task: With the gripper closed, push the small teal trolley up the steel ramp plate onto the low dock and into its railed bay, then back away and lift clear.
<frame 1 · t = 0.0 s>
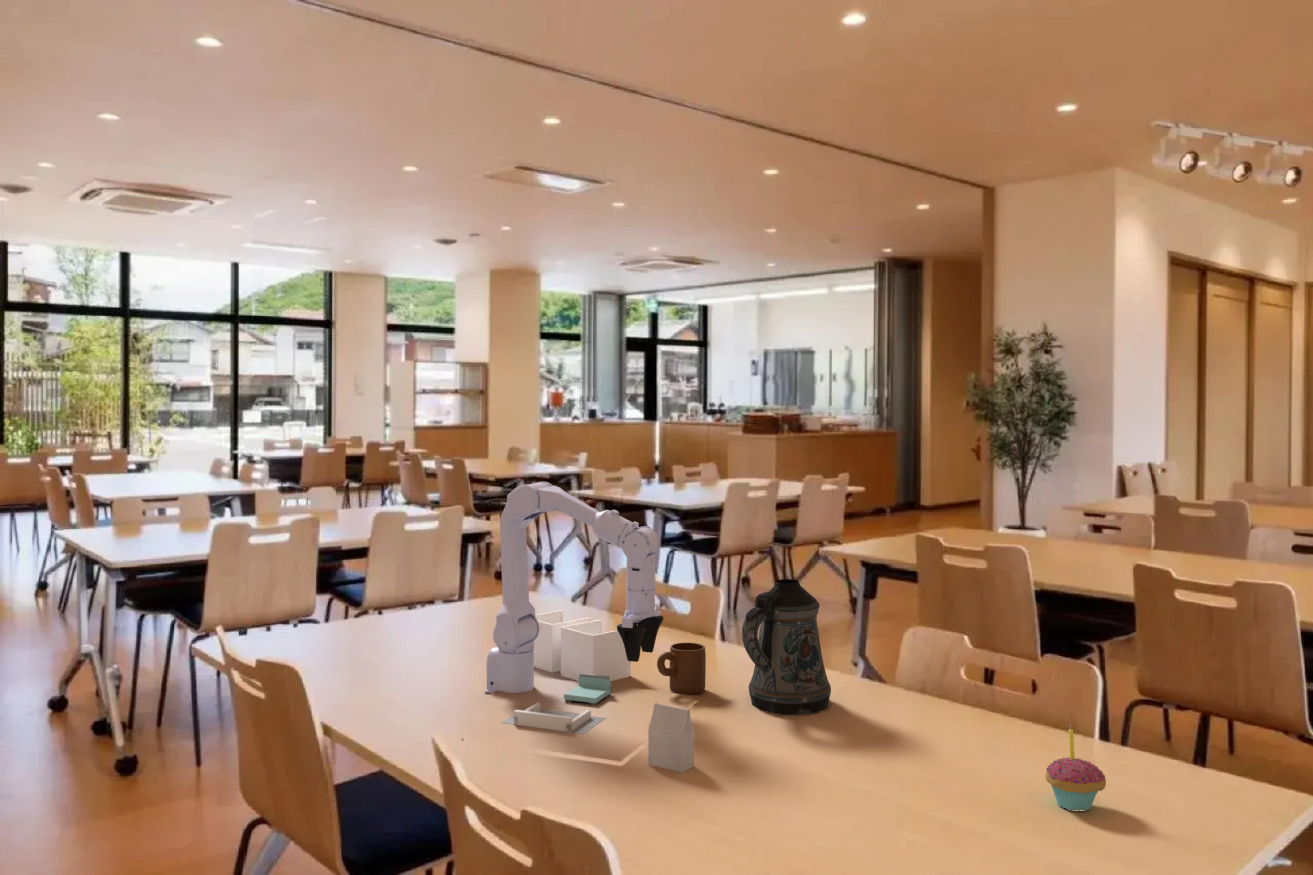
hand: (640, 656, 204), 10 cm above the table, tool pointing down, fingers open, 7 cm apart
beer stein: (787, 706, 205), on the table
ramp plate: (571, 710, 200), on the table, hinge at -6.9°
trolley: (588, 701, 207), on the table
mug: (679, 693, 214), on the table
dock: (553, 723, 193), on the table
cupcake: (1074, 807, 155), on the table
storage container: (575, 671, 231), on the table
light grey paper bag: (671, 766, 172), on the table
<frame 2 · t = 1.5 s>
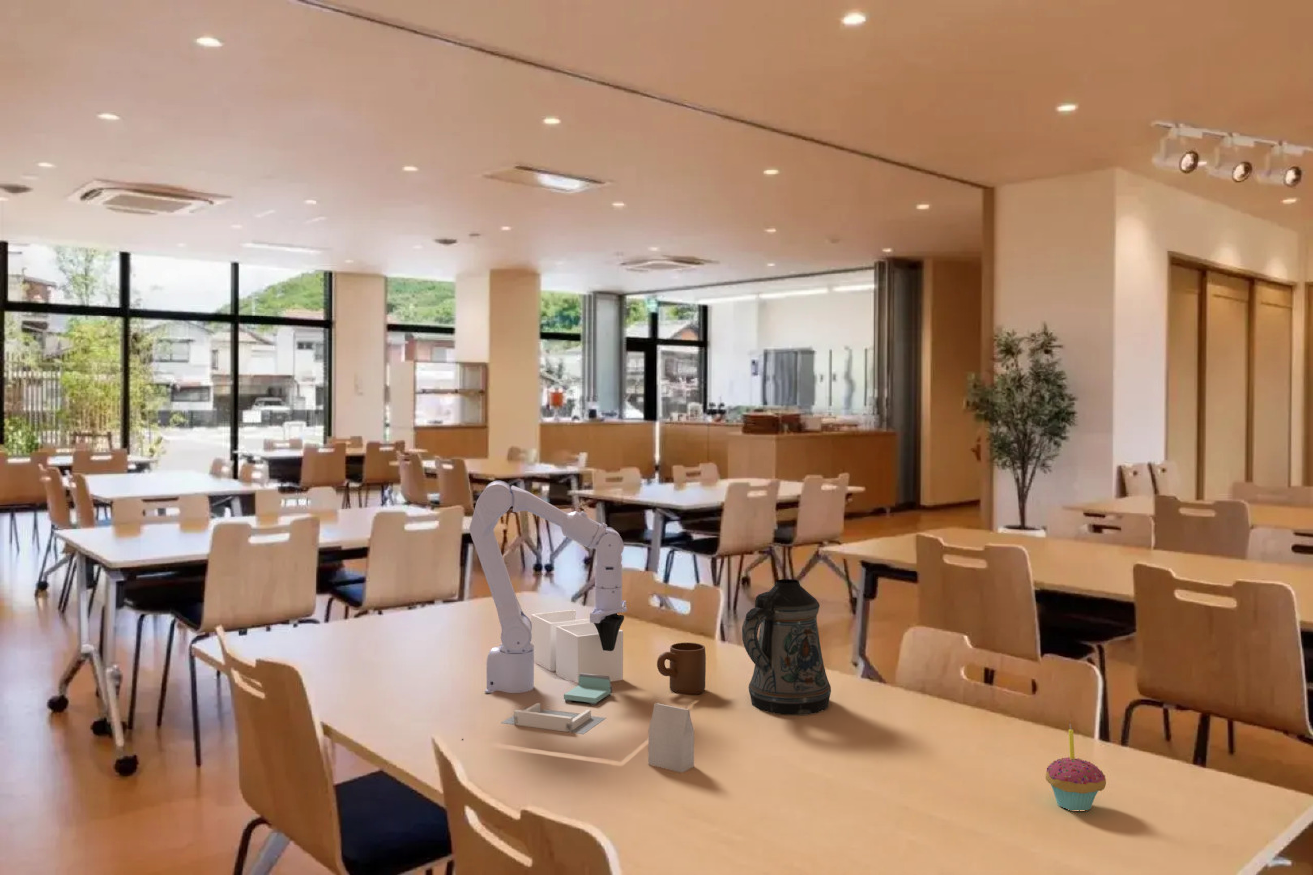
hand: (608, 650, 216), 8 cm above the table, tool pointing down, fingers closed
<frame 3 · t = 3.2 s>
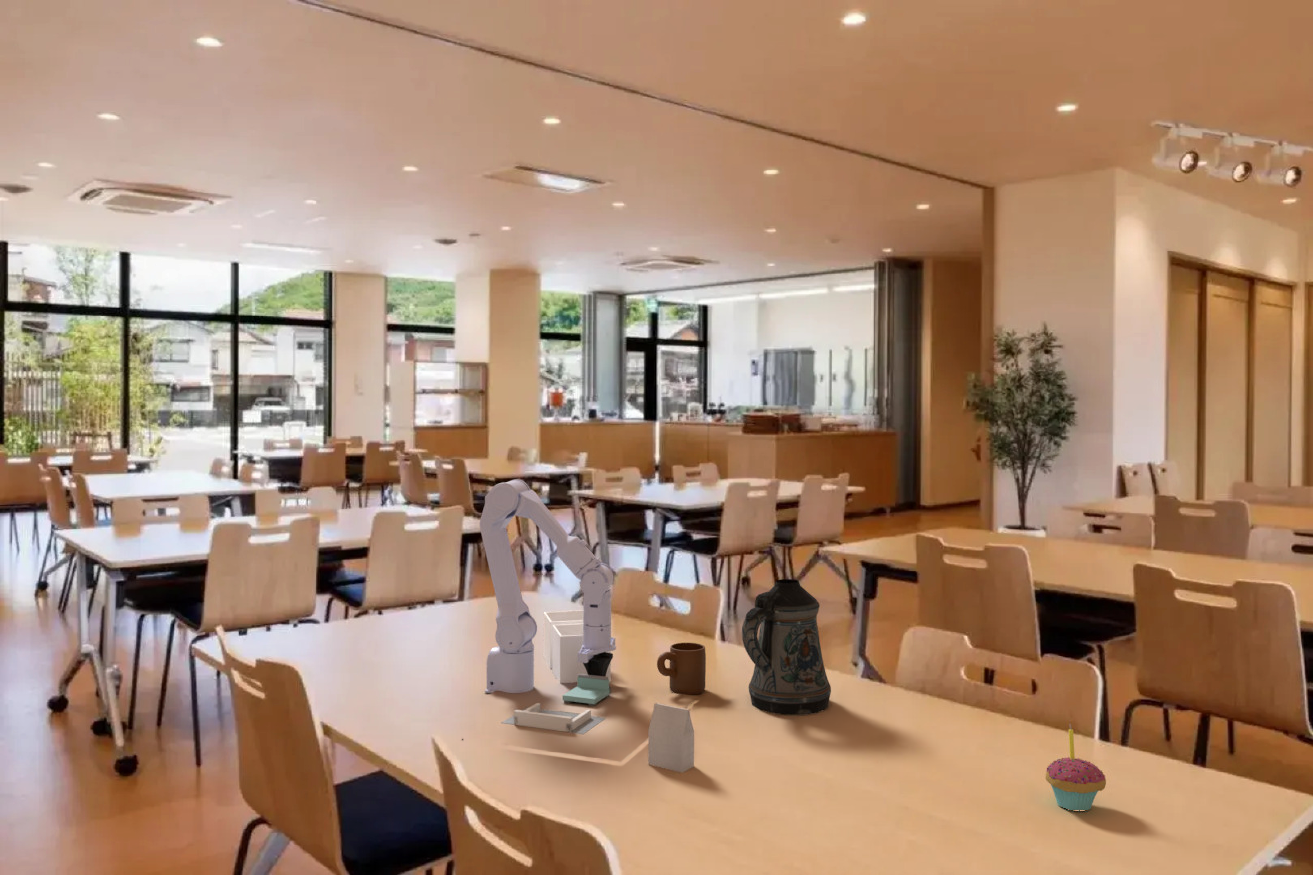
hand: (596, 689, 211), 1 cm above the table, tool pointing down, fingers closed
trolley: (586, 702, 206), on the table, touching gripper
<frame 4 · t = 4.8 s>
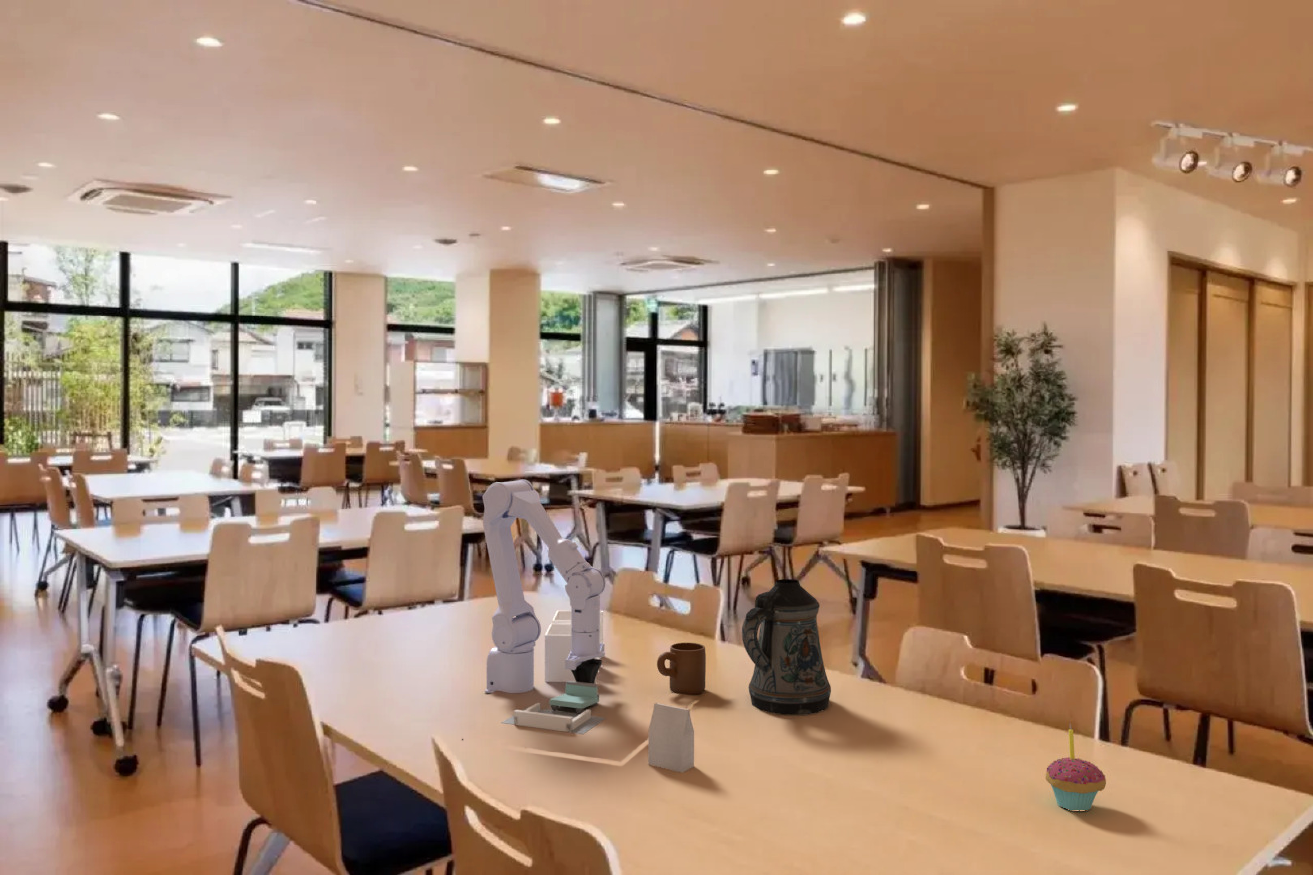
hand: (585, 696, 206), 1 cm above the table, tool pointing down, fingers closed
ramp plate: (571, 710, 200), on the table, hinge at -6.9°
trolley: (574, 709, 201), on the table, tilted 6°, touching gripper
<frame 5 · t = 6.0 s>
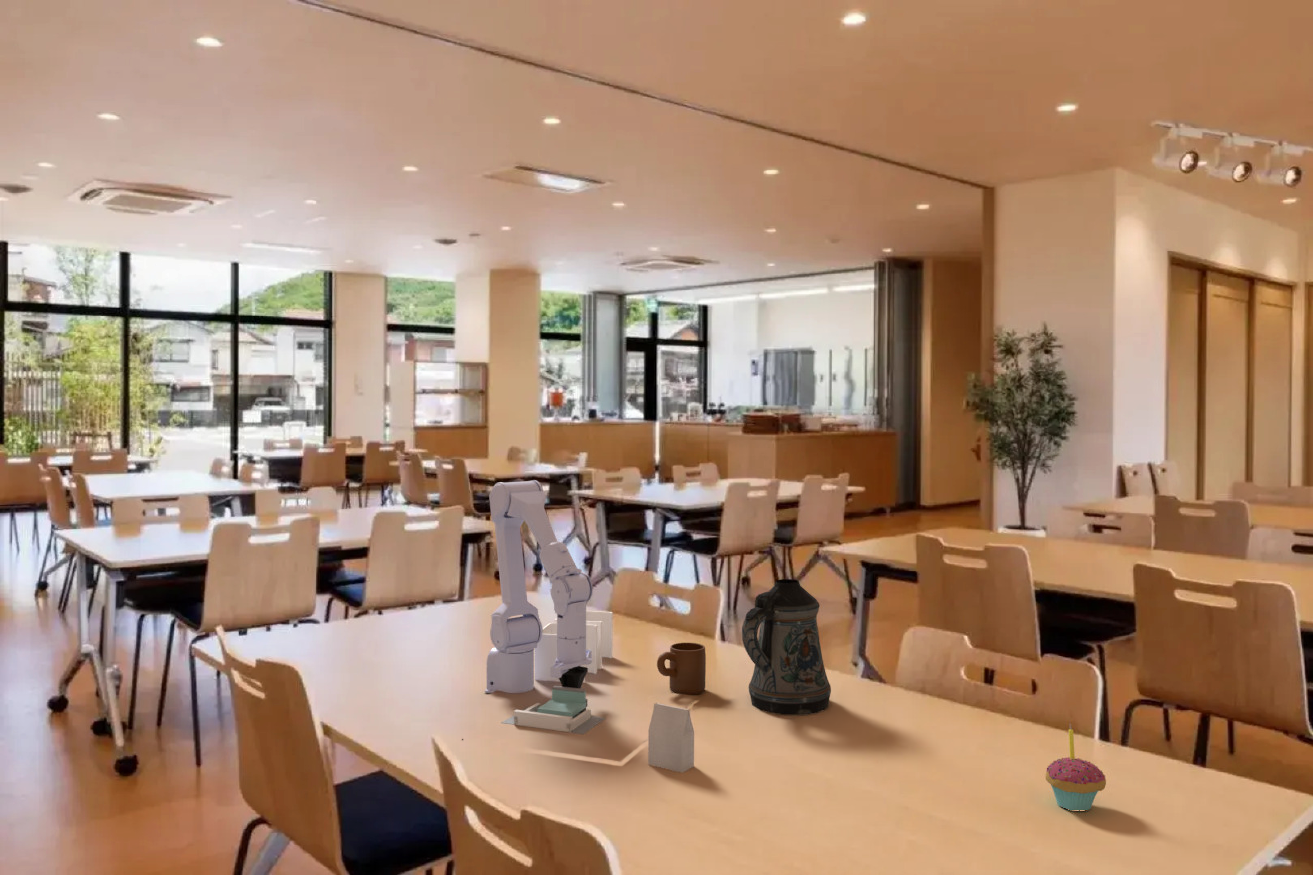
hand: (571, 704, 200), 2 cm above the table, tool pointing down, fingers closed, pressing on trolley
ramp plate: (571, 710, 200), on the table, hinge at -6.9°, touching trolley
trolley: (562, 716, 195), point 1 cm above the table, touching dock, gripper, ramp plate
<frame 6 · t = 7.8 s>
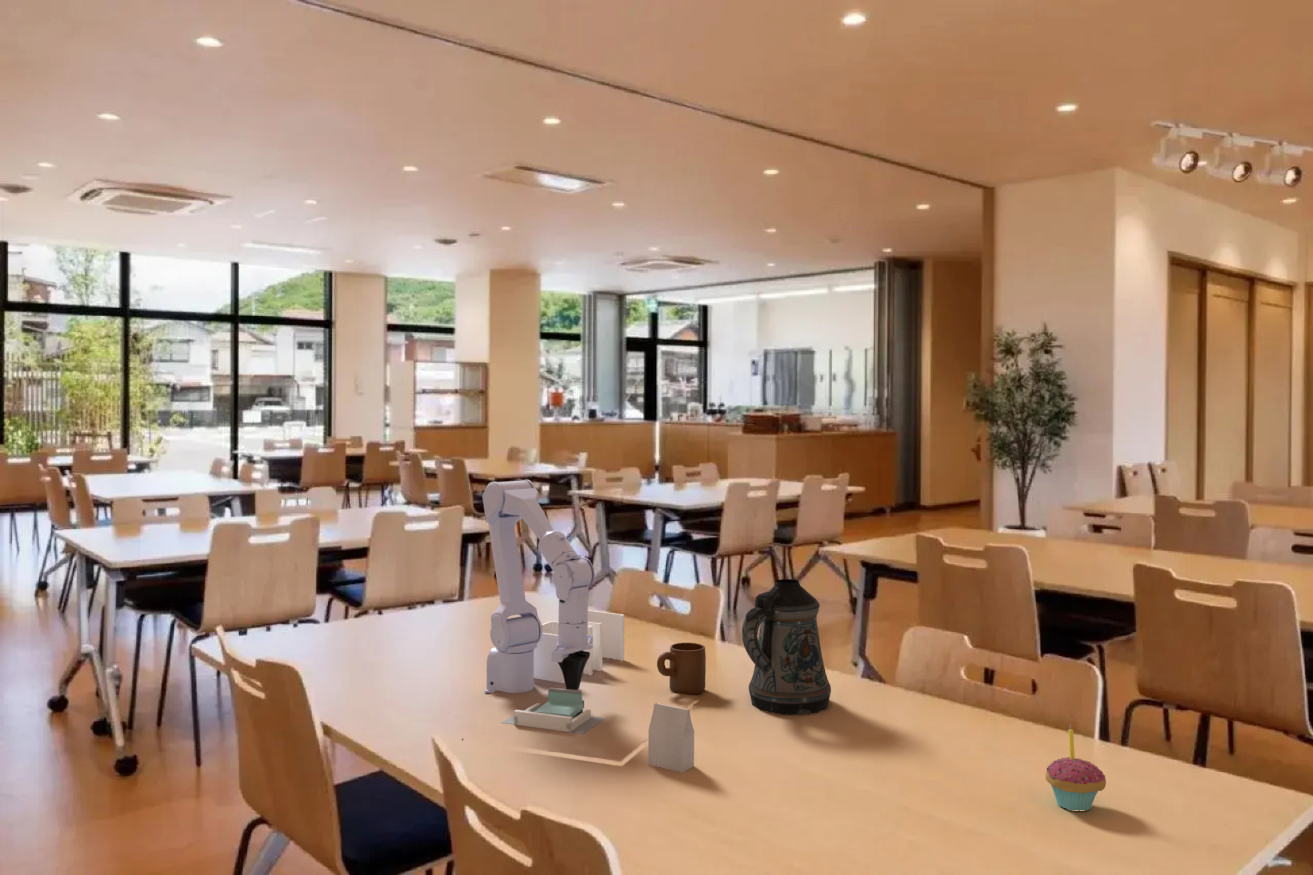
hand: (572, 689, 200), 4 cm above the table, tool pointing down, fingers closed
ramp plate: (571, 710, 200), on the table, hinge at -6.9°
trolley: (559, 718, 194), point 1 cm above the table, touching dock
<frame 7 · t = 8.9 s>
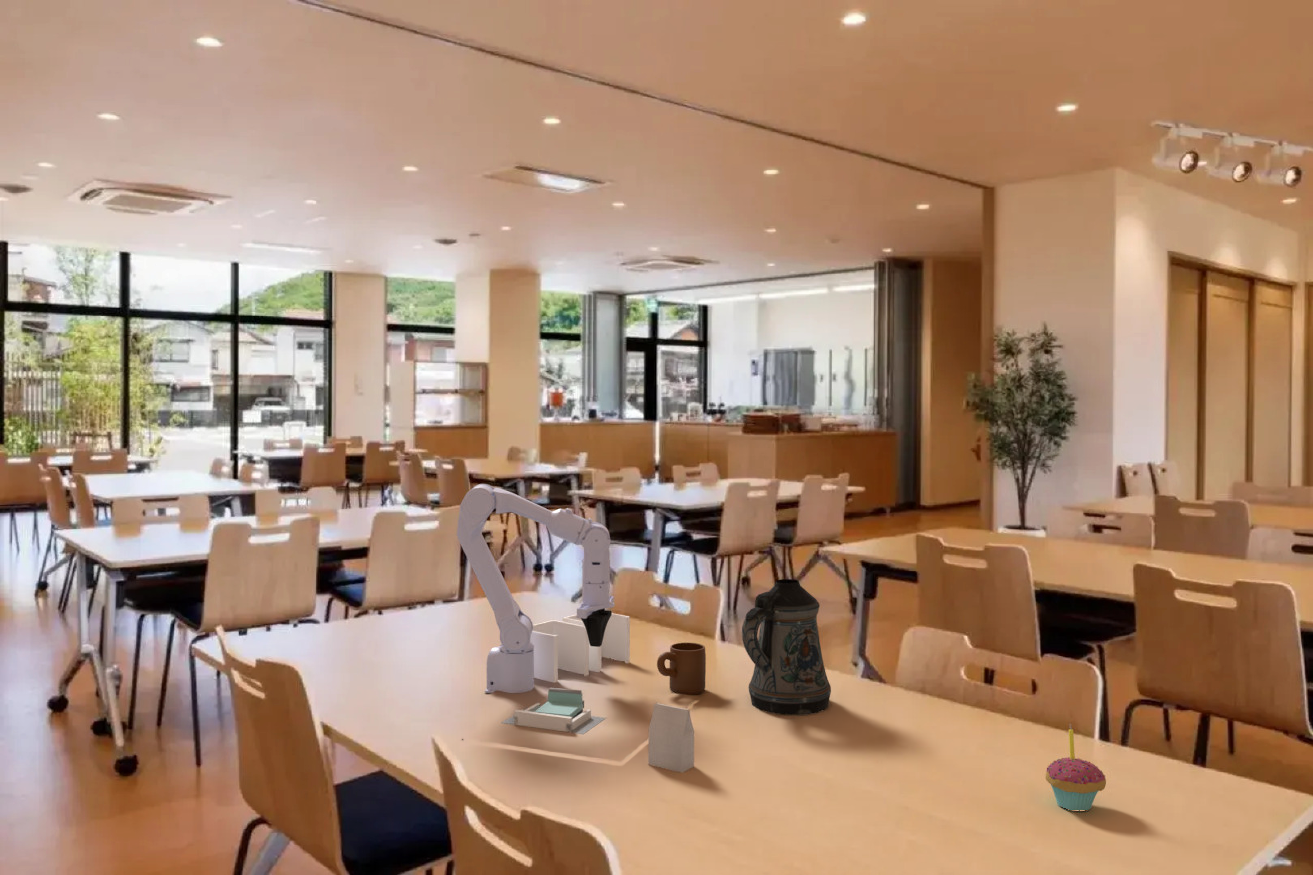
hand: (595, 645, 215), 9 cm above the table, tool pointing down, fingers closed
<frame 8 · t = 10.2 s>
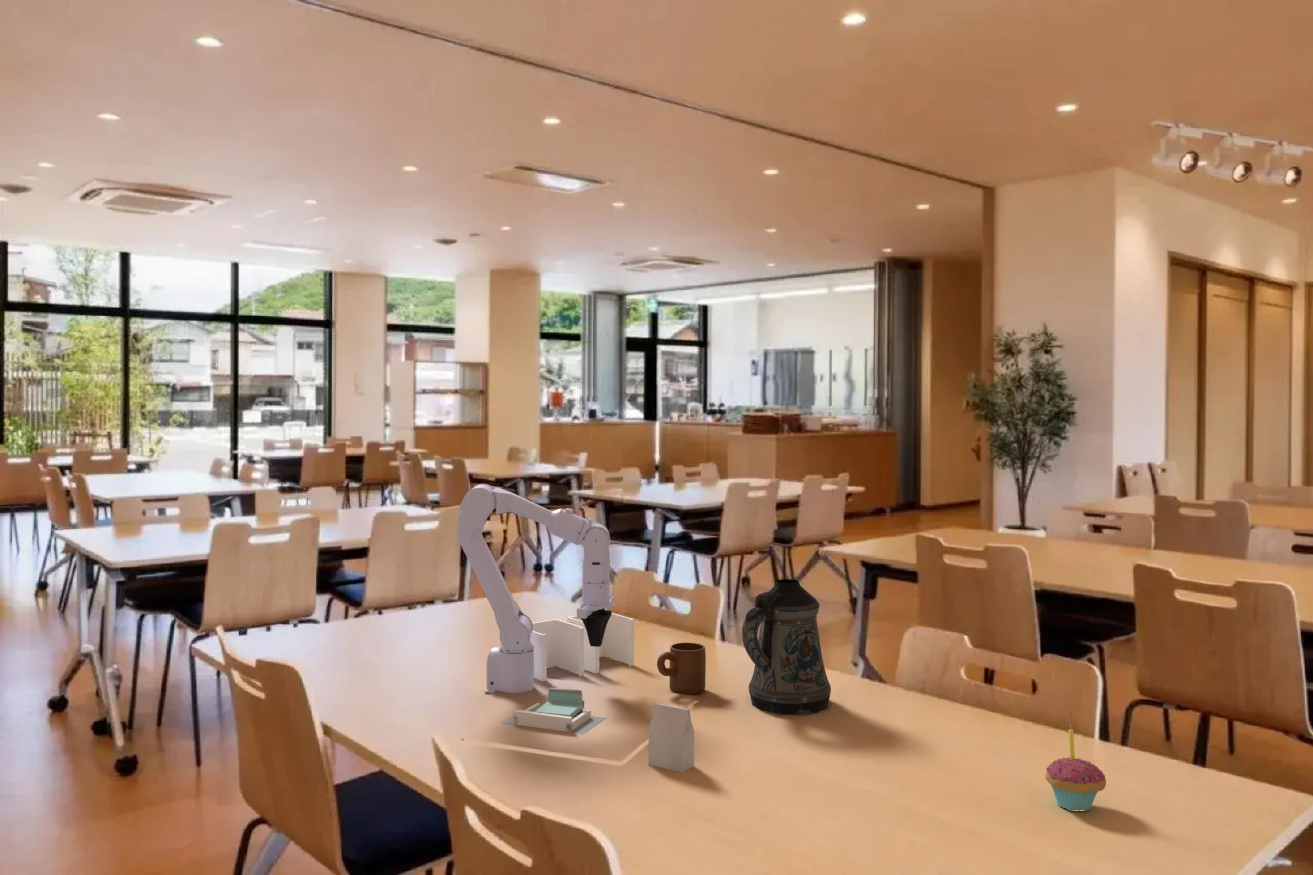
hand: (595, 645, 215), 9 cm above the table, tool pointing down, fingers closed
at the end: trolley 1.0 cm from the target spot, point 0.7 cm above the table; trolley tilted 0° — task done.
